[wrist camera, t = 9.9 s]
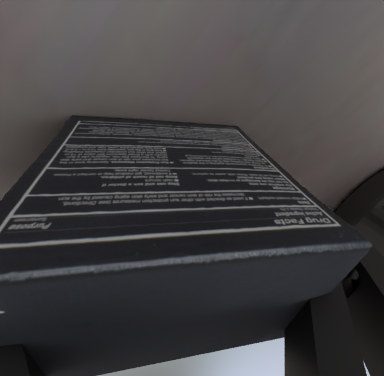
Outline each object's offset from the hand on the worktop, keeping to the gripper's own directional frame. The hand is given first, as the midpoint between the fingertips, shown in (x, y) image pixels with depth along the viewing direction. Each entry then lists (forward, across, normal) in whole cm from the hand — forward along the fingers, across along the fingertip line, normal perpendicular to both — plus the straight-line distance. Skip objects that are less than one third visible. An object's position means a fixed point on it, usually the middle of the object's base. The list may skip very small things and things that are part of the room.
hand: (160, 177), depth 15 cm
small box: (+1, 0, -1) cm, 1 cm away
